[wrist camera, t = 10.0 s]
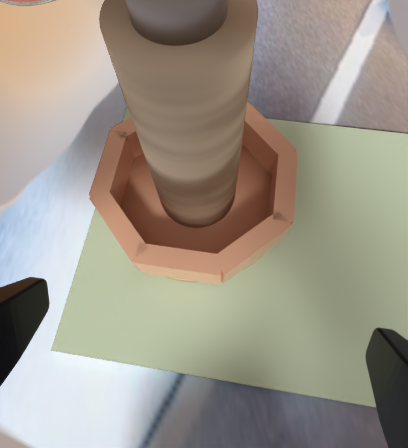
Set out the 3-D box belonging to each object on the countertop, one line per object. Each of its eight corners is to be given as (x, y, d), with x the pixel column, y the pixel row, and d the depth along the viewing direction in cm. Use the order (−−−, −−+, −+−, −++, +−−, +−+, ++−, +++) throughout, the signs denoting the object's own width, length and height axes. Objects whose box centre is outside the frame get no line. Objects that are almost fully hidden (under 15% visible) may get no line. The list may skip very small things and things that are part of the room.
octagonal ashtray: (278, 295, 20) (289, 286, 17) (89, 266, 21) (69, 253, 18) (290, 134, 25) (300, 105, 22) (133, 117, 26) (123, 87, 23)
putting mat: (545, 436, 18) (552, 438, 17) (53, 350, 20) (50, 350, 19) (486, 146, 25) (491, 142, 24) (129, 106, 27) (127, 103, 26)
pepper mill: (230, 232, 21) (254, 40, 8) (153, 222, 22) (62, 24, 9) (238, 165, 23) (269, -76, 10) (167, 157, 24) (111, -85, 11)
